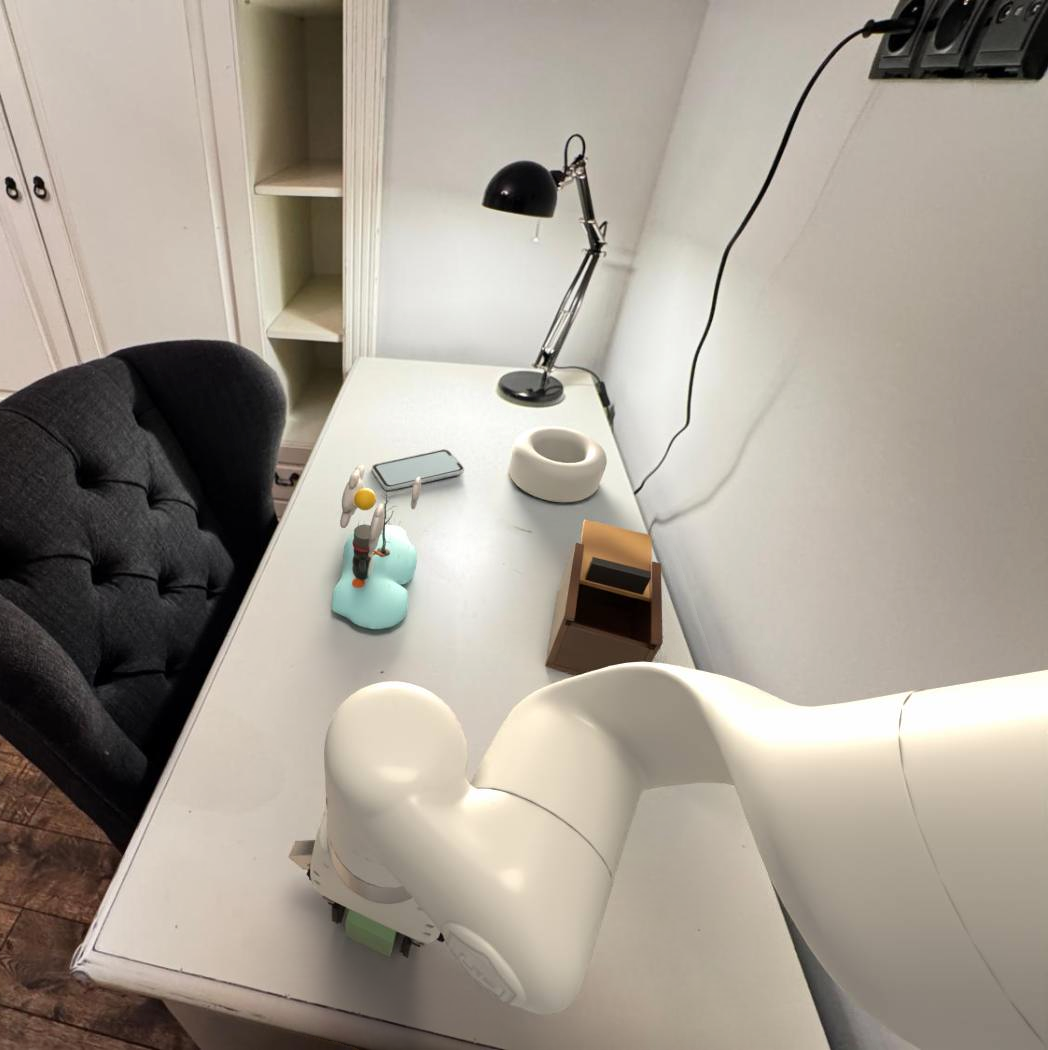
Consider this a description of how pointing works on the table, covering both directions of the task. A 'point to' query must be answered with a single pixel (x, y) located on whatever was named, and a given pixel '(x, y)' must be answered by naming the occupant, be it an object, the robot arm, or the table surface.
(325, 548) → the table surface
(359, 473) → the penguin figurine
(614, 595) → the box
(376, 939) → the block
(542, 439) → the fat ring
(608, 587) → the lid
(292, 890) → the table surface
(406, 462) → the smartphone
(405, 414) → the table surface
